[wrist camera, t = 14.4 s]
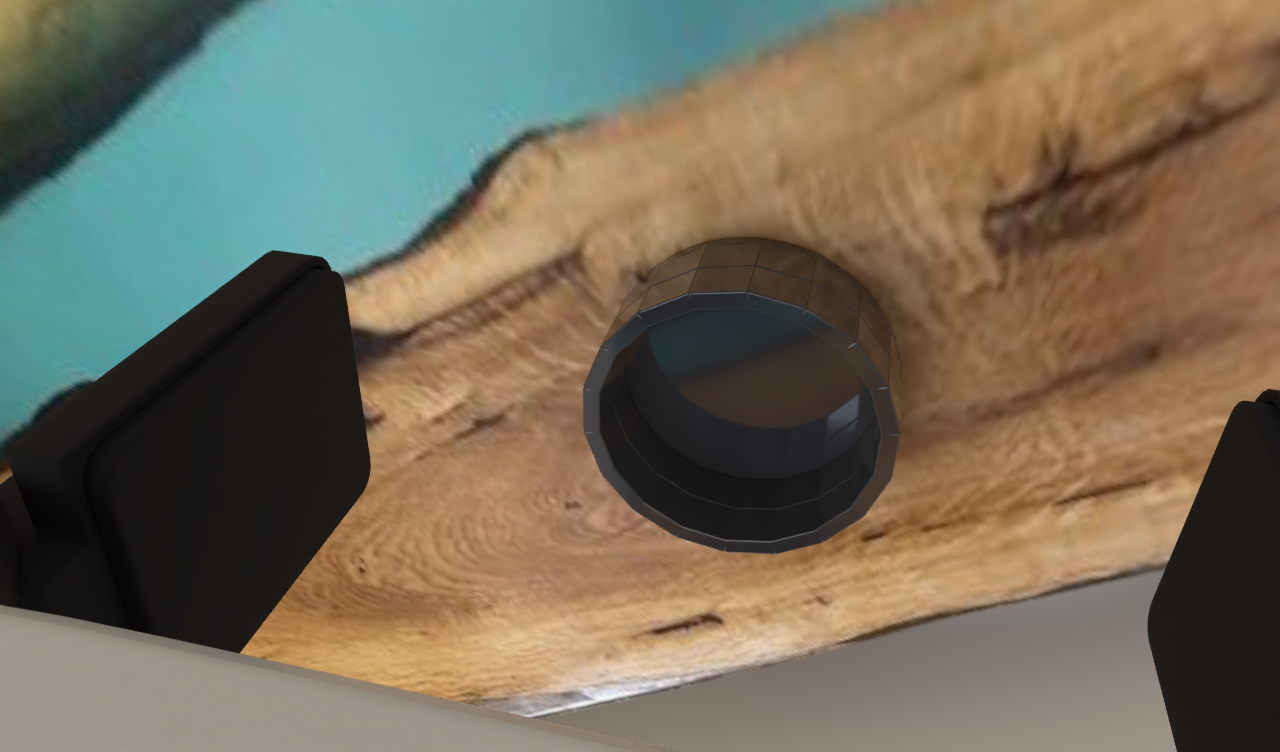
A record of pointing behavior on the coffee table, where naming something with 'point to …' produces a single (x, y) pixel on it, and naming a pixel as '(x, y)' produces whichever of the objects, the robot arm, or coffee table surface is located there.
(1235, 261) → the coffee table surface
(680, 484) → the round container
